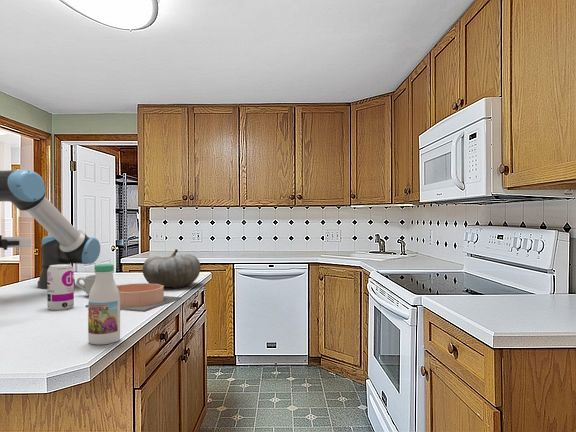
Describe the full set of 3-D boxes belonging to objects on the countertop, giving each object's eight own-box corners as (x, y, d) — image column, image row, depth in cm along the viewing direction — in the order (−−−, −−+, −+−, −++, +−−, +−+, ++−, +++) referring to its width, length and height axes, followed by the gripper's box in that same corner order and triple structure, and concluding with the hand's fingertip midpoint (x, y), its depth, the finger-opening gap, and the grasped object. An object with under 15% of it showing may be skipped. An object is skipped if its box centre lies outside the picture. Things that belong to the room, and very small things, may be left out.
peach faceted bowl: (128, 295, 183) (128, 281, 183) (181, 298, 176) (181, 284, 176) (85, 307, 160) (85, 291, 160) (144, 311, 153) (144, 295, 153)
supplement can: (79, 306, 161) (78, 264, 161) (60, 311, 153) (60, 267, 153) (61, 305, 164) (61, 263, 163) (41, 309, 156) (41, 266, 156)
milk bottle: (94, 337, 122) (94, 263, 121) (123, 336, 122) (123, 262, 122) (83, 345, 114) (83, 266, 114) (115, 345, 115) (115, 266, 114)
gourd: (195, 285, 191) (189, 244, 193) (137, 295, 191) (131, 254, 193) (207, 282, 216) (202, 246, 217) (156, 291, 216) (151, 255, 218)
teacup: (118, 293, 186) (118, 274, 186) (105, 298, 176) (104, 278, 176) (86, 293, 188) (85, 273, 188) (70, 298, 177) (70, 277, 177)
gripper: (-53, 253, 148) (21, 250, 161) (-51, 259, 129) (33, 255, 142) (-53, 230, 148) (21, 229, 161) (-51, 232, 129) (33, 231, 142)
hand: (27, 241), depth 152 cm, fingers open, 13 cm apart
